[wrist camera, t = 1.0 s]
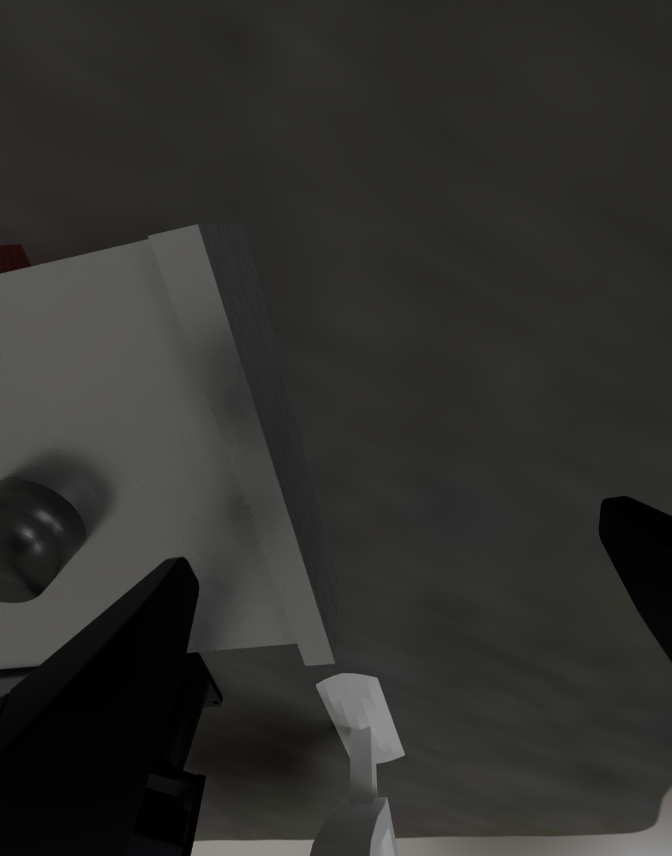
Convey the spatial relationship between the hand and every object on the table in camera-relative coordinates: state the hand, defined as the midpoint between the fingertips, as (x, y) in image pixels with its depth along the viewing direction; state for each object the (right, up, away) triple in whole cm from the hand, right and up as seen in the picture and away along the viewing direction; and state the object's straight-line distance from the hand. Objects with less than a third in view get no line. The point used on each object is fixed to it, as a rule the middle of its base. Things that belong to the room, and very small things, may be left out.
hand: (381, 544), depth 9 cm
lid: (-11, +1, +8) cm, 14 cm away
